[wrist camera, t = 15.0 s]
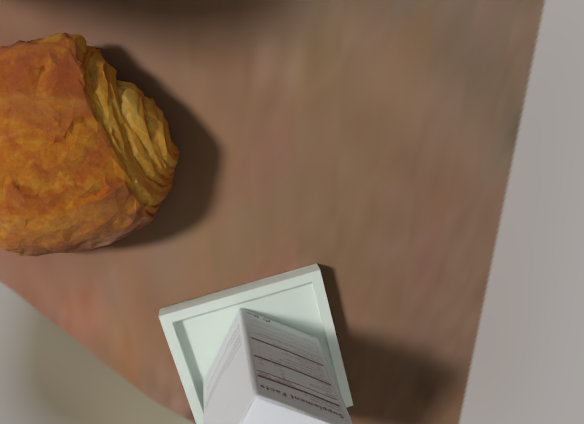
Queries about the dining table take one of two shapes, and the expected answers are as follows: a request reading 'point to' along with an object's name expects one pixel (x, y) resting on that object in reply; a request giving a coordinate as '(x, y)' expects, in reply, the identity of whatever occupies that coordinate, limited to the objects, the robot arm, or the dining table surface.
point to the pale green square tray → (258, 299)
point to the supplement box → (270, 377)
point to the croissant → (76, 149)
